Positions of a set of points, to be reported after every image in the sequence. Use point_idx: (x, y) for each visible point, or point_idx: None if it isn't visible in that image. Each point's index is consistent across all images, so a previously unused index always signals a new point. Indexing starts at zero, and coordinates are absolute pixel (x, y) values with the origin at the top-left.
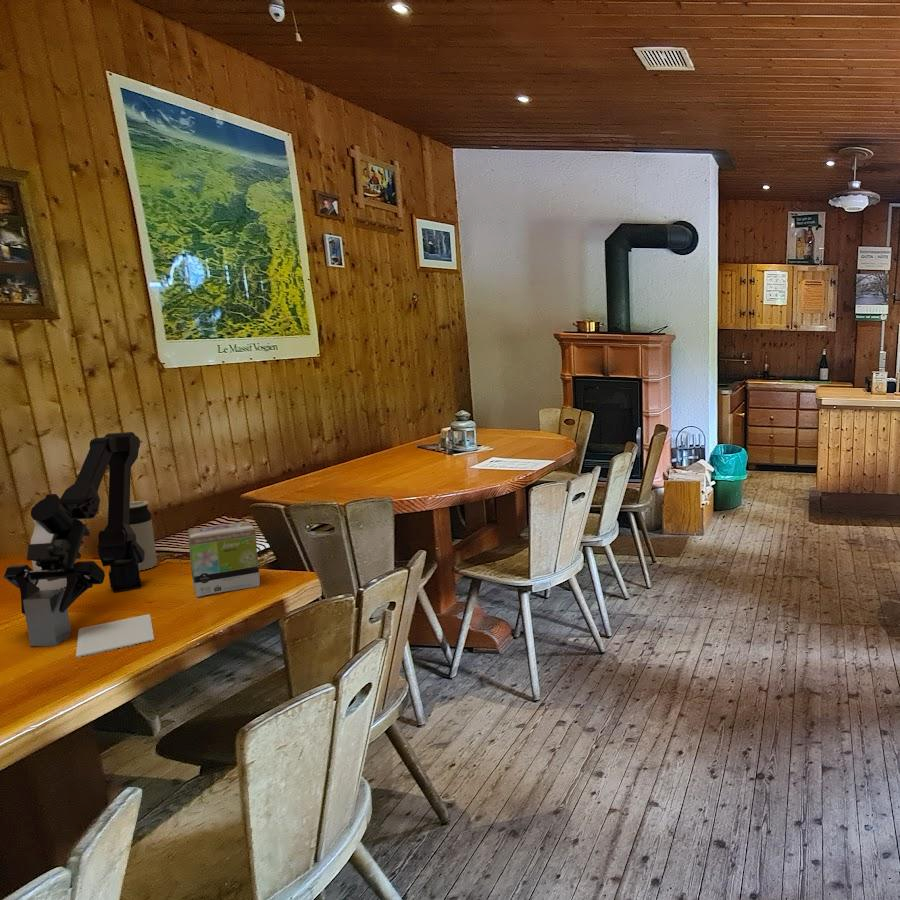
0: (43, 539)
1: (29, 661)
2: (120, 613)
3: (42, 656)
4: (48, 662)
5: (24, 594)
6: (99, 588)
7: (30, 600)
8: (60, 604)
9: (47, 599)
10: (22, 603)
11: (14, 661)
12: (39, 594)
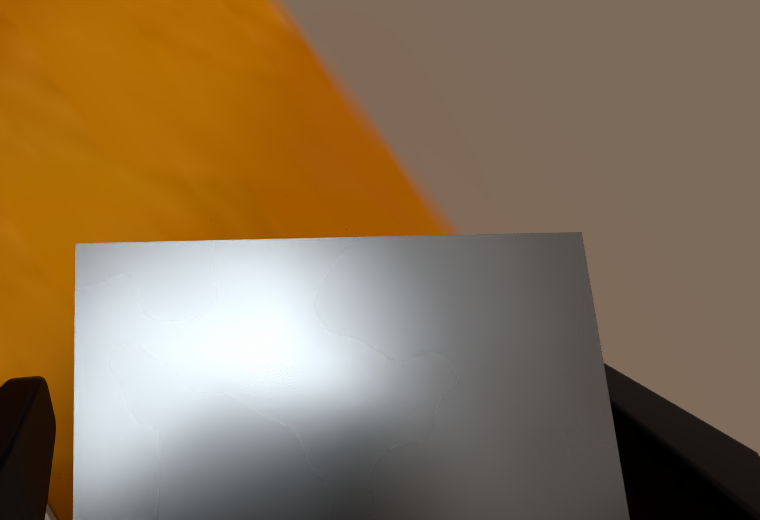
0: None
1: (204, 93)
2: None
3: (156, 160)
4: (34, 53)
5: (752, 488)
6: None
7: (457, 240)
8: (8, 430)
9: (127, 250)
10: (641, 394)
11: (317, 110)
12: (489, 512)
